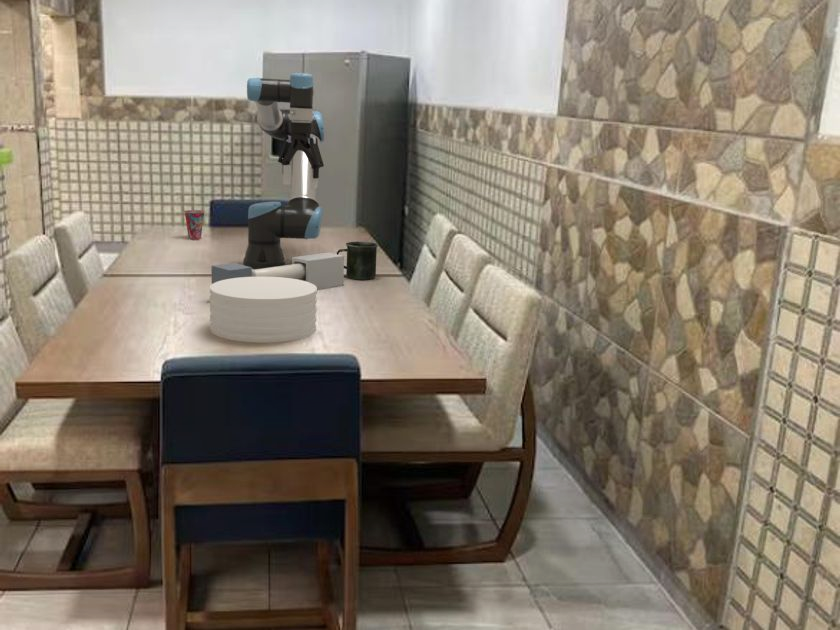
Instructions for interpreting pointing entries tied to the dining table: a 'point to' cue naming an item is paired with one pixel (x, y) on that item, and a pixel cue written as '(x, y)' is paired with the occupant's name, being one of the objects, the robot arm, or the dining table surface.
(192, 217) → the cup
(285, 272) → the tube
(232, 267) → the socket
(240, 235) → the dining table surface
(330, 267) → the sleeve
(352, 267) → the mug
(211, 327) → the plate stack
